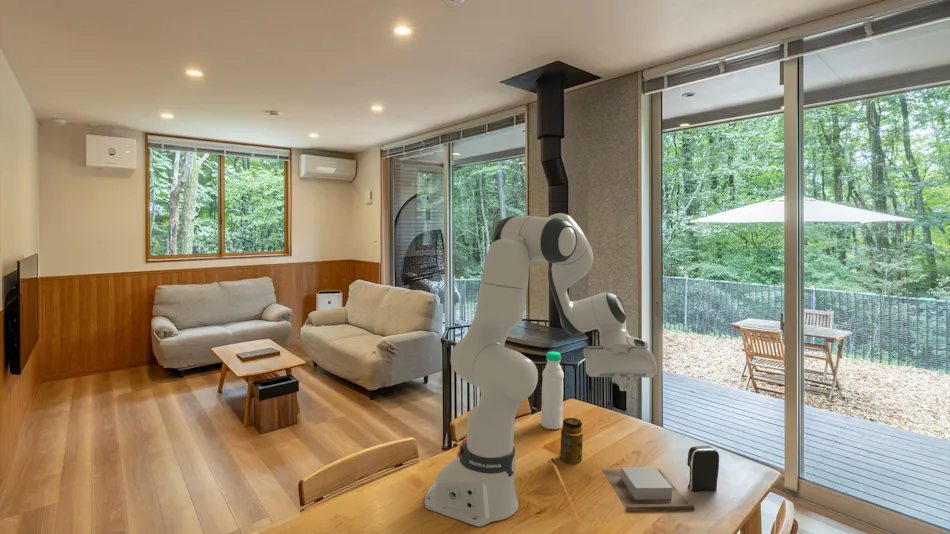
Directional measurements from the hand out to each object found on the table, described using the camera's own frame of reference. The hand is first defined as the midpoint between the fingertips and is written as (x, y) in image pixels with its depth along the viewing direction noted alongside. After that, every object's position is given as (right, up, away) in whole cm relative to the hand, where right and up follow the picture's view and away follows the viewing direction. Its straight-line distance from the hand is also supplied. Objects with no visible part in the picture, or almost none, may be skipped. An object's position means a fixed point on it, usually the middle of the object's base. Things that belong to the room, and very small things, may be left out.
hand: (626, 390), depth 135 cm
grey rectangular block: (0, -20, -8) cm, 21 cm away
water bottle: (-17, -19, +26) cm, 36 cm away
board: (+1, -22, -12) cm, 26 cm away
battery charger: (+15, -23, -12) cm, 30 cm away
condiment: (-16, -21, +2) cm, 27 cm away
